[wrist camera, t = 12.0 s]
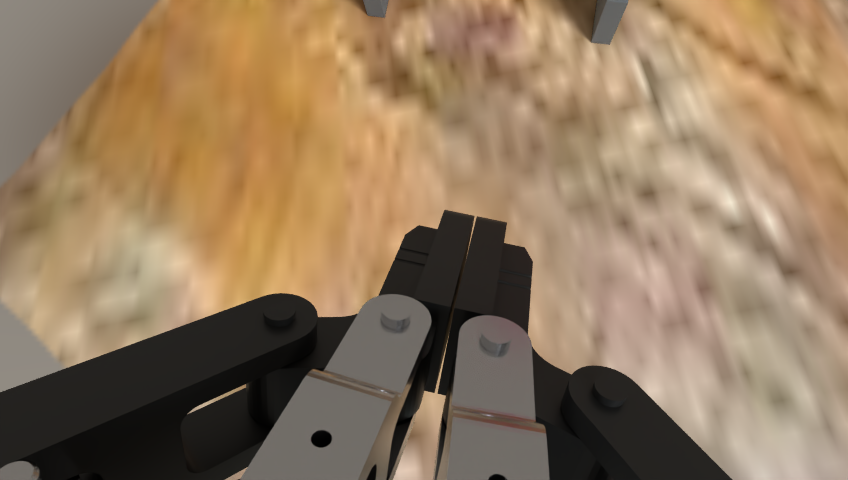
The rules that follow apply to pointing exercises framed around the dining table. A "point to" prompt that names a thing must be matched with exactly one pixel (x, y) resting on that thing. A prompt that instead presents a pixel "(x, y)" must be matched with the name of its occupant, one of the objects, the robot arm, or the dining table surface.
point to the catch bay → (605, 21)
